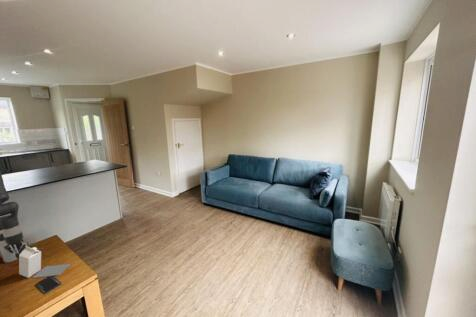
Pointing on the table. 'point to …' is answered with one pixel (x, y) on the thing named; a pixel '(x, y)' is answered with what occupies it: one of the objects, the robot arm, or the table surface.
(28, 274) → the milk carton
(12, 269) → the table surface
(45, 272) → the mat
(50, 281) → the phone
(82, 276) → the table surface
